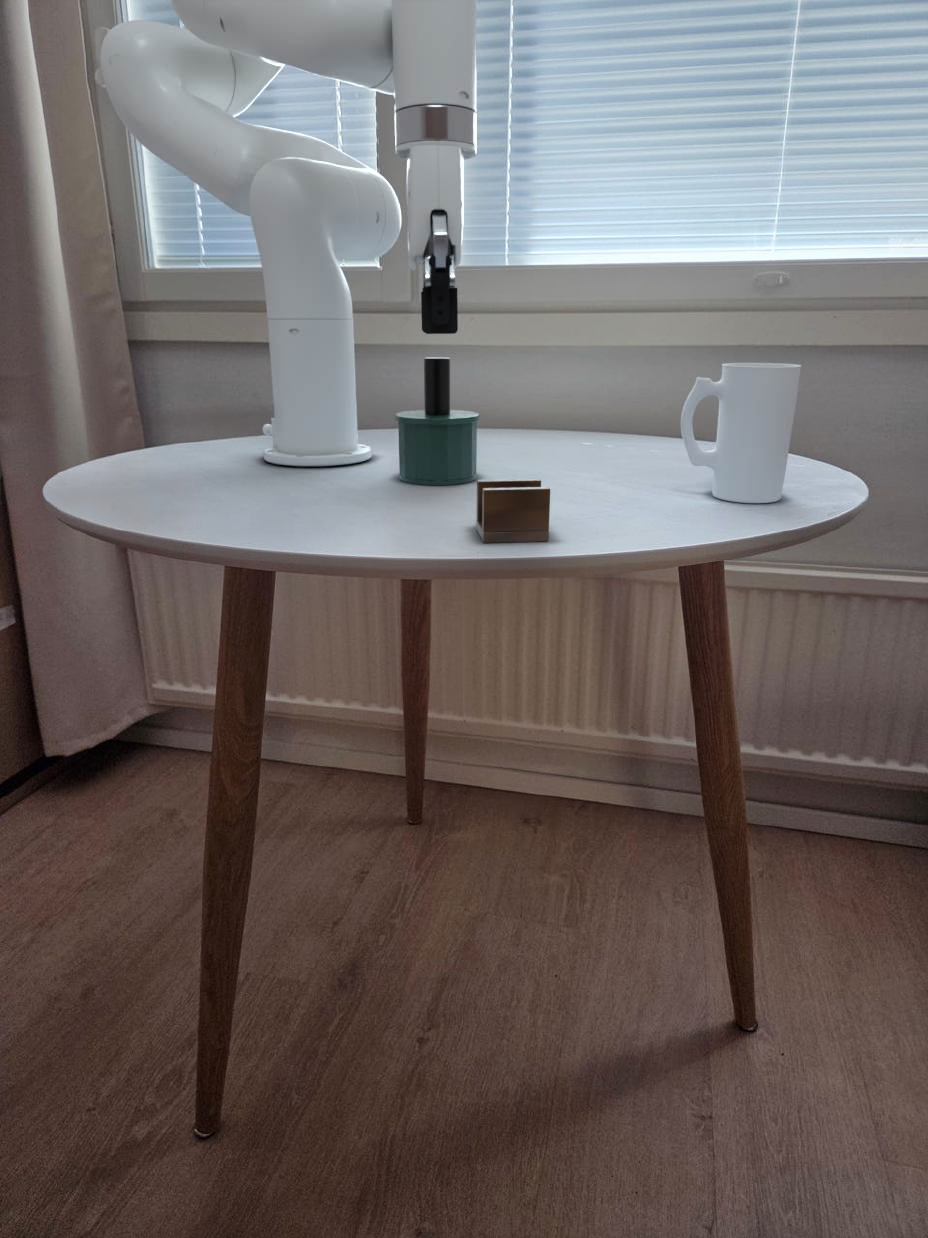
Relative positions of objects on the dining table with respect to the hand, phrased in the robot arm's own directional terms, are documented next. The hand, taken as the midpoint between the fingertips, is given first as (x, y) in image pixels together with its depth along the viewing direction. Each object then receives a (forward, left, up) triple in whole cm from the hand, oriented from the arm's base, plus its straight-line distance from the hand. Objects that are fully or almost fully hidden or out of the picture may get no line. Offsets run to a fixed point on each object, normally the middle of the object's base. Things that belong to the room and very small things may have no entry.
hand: (438, 332), depth 83 cm
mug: (+27, +11, -15) cm, 33 cm away
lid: (0, 0, -9) cm, 9 cm away
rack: (+21, -14, -15) cm, 29 cm away
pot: (0, 0, -15) cm, 15 cm away
